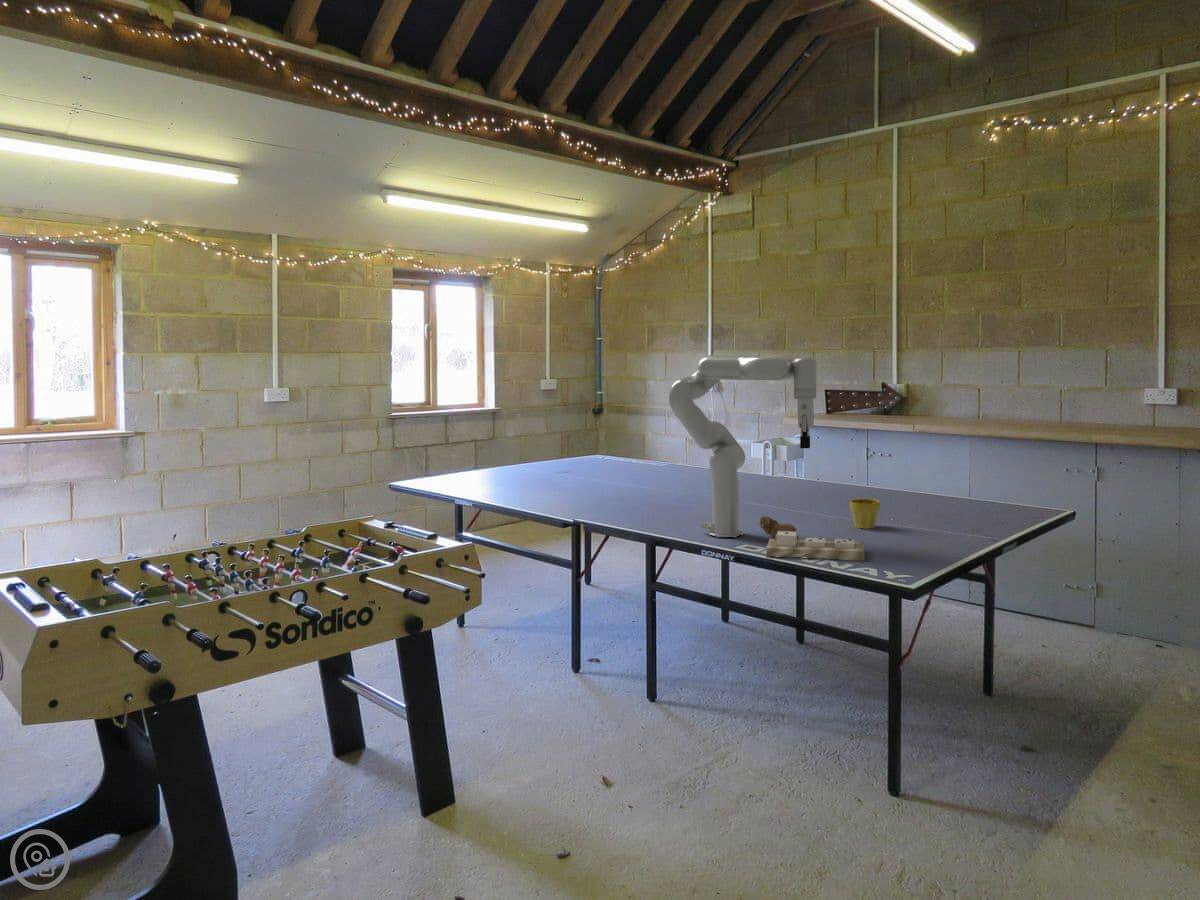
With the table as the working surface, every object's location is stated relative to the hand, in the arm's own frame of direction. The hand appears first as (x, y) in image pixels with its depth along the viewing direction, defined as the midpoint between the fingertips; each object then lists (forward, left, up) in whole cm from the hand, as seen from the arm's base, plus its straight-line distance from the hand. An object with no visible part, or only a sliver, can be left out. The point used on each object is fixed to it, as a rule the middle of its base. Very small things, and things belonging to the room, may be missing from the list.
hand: (805, 447), depth 294 cm
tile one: (-5, -19, -30) cm, 36 cm away
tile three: (+13, -19, -32) cm, 39 cm away
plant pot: (+20, +24, -32) cm, 45 cm away
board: (+4, -19, -32) cm, 38 cm away
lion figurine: (-8, -5, -32) cm, 34 cm away
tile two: (+4, -19, -31) cm, 37 cm away
